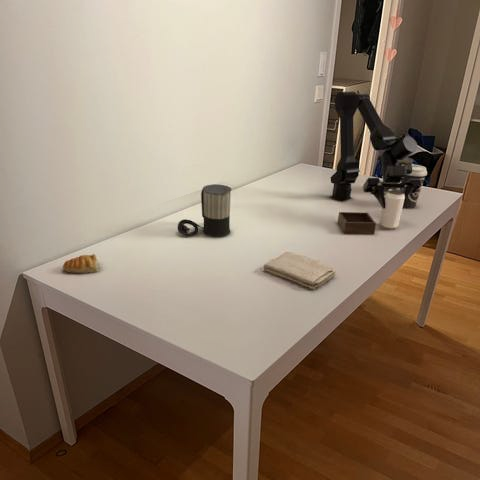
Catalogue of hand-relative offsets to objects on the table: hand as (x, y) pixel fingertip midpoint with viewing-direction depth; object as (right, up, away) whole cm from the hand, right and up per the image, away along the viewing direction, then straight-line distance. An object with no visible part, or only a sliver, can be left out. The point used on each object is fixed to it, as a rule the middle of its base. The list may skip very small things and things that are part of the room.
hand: (393, 208), depth 162 cm
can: (0, -5, +5) cm, 7 cm away
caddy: (-12, -6, +4) cm, 14 cm away
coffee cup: (+14, +7, +26) cm, 31 cm away
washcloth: (-36, -25, -28) cm, 52 cm away
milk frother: (-64, -9, -4) cm, 65 cm away
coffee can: (+13, +16, +41) cm, 46 cm away
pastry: (-96, -24, -29) cm, 103 cm away
